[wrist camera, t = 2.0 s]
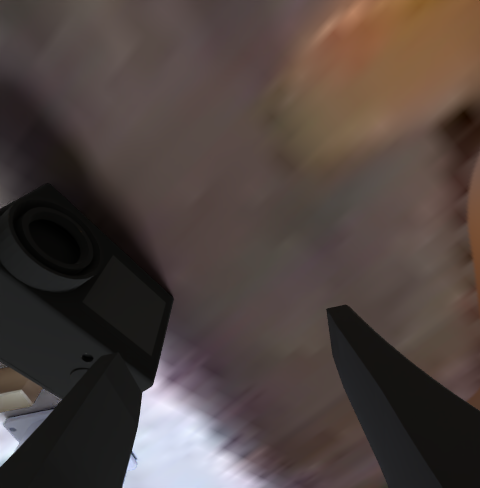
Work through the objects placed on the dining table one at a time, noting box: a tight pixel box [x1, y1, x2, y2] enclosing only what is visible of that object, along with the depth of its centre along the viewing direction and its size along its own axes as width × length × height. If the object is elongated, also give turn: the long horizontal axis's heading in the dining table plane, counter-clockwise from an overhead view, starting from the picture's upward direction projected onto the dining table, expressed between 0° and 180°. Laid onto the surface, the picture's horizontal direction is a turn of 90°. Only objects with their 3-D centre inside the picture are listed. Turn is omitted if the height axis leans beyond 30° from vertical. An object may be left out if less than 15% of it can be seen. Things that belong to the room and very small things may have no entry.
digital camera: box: [0, 183, 174, 400], centre depth 17 cm, size 10×5×7 cm, turn 37°
